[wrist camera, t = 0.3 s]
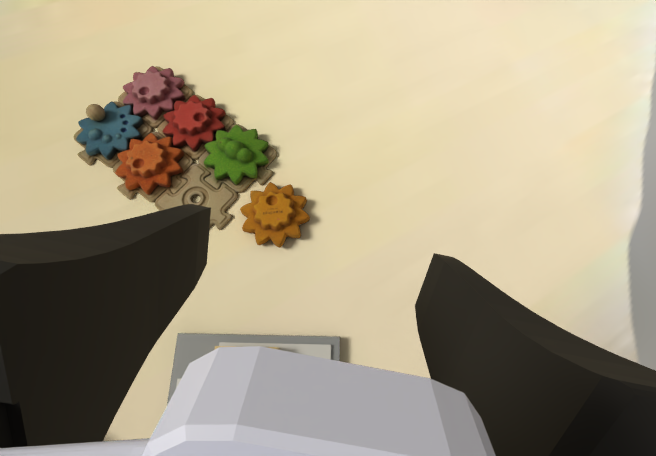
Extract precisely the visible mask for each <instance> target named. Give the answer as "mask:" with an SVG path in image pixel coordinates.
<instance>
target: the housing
mask: <svg viewBox="0 0 656 456" xmlns="http://www.w3.org/2000/svg"><path fill="white" fill-rule="evenodd" d="M215 346H242V347H247V346H262V347H279V348H280V350H283V351H288V352H293V353H299V354H304V355H309V356H314V357H320V358H325V359H330V360H336V361H340V337H326V336H280V335H234V334H188V333H178V335H177V342H176V349H175V355H174V362H173V369H172V375H171V382H170V389H169V396H168V402H167V405H168V403H169V401H170V399H171V397H172V396H173V394H174V392H175V390H176V388H177V386H178V384H179V382H180V380H181V378H182V376H183V375H184V373H185V371H186V369H187V367H188V365H189V363H191V362H193V361H195V360H197V359H198V358H200V357H202V356H204V355H206V354H208V353H210V352H211V351H213V350H215Z"/></svg>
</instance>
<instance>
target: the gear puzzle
mask: <svg viewBox="0 0 656 456" xmlns="http://www.w3.org/2000/svg"><path fill="white" fill-rule="evenodd" d="M133 80H134V81H133V82H130V83H128V84H126V85H124V86H123V89H124V90H125V92H124V93H123V94H121V95H120V96H119V98H118V101H119V102H110V103H109V104H107V105H106V106H105V108H104V109H103V108H102V107H101V106H100V105H97V104H91V105H89V106H88V107H87V109H86V114H87V116H88V117H89V118H85V119H83V120H81V121H79V122H78V123H79V125H80V127H81V129H80V130H79V131H78V132H77V133H76V134H75V135H74V140H75V141H76V142H78V143H79V144H80V145H81V146H83V147H84V148H85V150H84V151H82V152H80V153H78V156H79V157H80V158H81V159H82V160H84V161H85V162H86V163H87V164H88V165H92V164H93V163H94V162H95V160H96V159H98V160H100V161H101V162H102V163H104V164H105V165H106V166H108V167H110V168H113V172H114V173H115V174H116V175H117V176H118V177H120V178H121V179H122V180H123V181H124V182H125V183H124V184H122V185H120V186H118V187H117V189H118V190H119V191H120V192H121V193H122V194H123V195H124V196H126V197H127V198H128V199H130V200H131V199H132V198H133V197H134V195H135V194H136V193H139V194H141V195H142V196H143V197H144V198H145V199H147V200H148V201H149V202H155V206H156V207H157V208H158V209H159V210H160V211H161V210H165V209H169V208H173V207H176V206H181V205H186V204H195V205H200V206H205V207H210V208H211V215H210V227H211V226H212V225H213V224H215V225H216V226H217V228H218V229H219V230H221V229H222V228H223V227H224V226H225V225H226V224H227V223H228V222H229V221H230V220H231V218H232V215H231V214H228V213H225V212H226V210H227V209H228V208H229V207H230V206H231V205H232V204H233V203H234V201H235V200H236V199H237V196H238V195H237V193H242V192H244V191H245V190H246V189H247V188H248V187H249V186H250V184H251V183H252V182H253V181H255V180H257V181H258V182H259V184H260V185H263V184H264V183H265V182H266V181H267V180H268V179H269V178H270V177H271V176H272V174H273V172H272V171H271V170H268V169H266V168H267V166H268V165H269V164H270V163H271V162H272V161H273V160H274V159H275V158H276V156H277V153H276V151H275V150H274V149H273V148H272V147H271V146H269V145H268V142H266V141H264V140H259V139H258V133H257V130H256V129H251V130H246V129H245V128H244V127H242V126H241V125H239V124H234V121H233V120H232V119H231V118H230V117H228V116H227V115H226V113H225V111H224V110H223V109H220V108H215V101H214V99H213V98H209V99H203V98H202V97H200V96H199V95H193V92H192V90H191V89H190V88H188V87H187V86H186V85H184V81H183V79H181V78H178V77H174V73H173V71H172V69H170V68H168V69H164V70H163V69H162V68H160V67H154V66H151V67H150V68H149V69H148V70H147V72H146V73H140V72H135V73H134V75H133ZM153 128H157V130H158V132H153ZM198 159H199V164H194V161H193V160H198ZM195 196H200V197H201V200H200V201H199V202H198V203H193V202H192V199H193V197H195ZM250 196H251V201H252V203H249V204H246V205H244V206H243V207H241V209H240V210H241V212H242V214H243V215H244V216H246V217H247V218H248V219H247V220H246V221H245V223H244V225H243V227H242V229H243V231H244V232H249V233H255V239H256V242H257V244H258V245H261V244H264V243H265V242H267V241H268V240H272V242H273V243H274V244H275V245H276V246H277V247H281V246H282V245H283V244H284V242H285V239H286V237H291V238H300V236H301V234H300V229H299V225H301V224H303V223H306V222H307V221H309V220H310V217H309V215H308V214H307V213H306V212H305V211H303V210H302V209H303V207H304V206H305V204H306V202H307V200H306V197H303V196H294V191H293V187H292V185H287V186H285V187H283V188H281V189H278V188H277V186H276V185H274V184H273V183H271V182H270V183H269V184H268V185H267V186H266V188H265V191H264V192H261V191H251V194H250ZM210 227H209V228H210Z"/></svg>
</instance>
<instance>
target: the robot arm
mask: <svg viewBox="0 0 656 456" xmlns="http://www.w3.org/2000/svg"><path fill="white" fill-rule="evenodd" d="M210 215H211V208H210V207H205V206H200V205H195V204H186V205H181V206H176V207H173V208H169V209H165V210H161V211H158V212H154V213H150V214H147V215H143V216H139V217H135V218H130V219H126V220H122V221H117V222H113V223H108V224H103V225H98V226H92V227H85V228H78V229H71V230H62V231H49V232H37V233H24V234H0V456H656V371H655V370H652V369H650V368H647V367H645V366H642V365H640V364H638V363H635V362H633V361H630V360H628V359H625V358H623V357H620V356H618V355H616V354H614V353H611V352H609V351H607V350H604V349H602V348H600V347H598V346H596V345H594V344H592V343H590V342H588V341H586V340H583V339H581V338H579V337H577V336H575V335H573V334H571V333H569V332H568V331H566V330H564V329H562V328H560V327H558V326H556V325H555V324H553V323H551V322H549V321H548V320H546V319H544V318H542V317H541V316H539V315H537V314H536V313H534V312H532V311H531V310H529V309H528V308H526V307H525V306H523V305H522V304H520V303H519V302H517V301H516V300H514V299H513V298H511V297H510V296H508V295H507V294H505V293H504V292H502V291H501V290H500V289H498V288H497V287H496V286H494V285H493V284H491V283H490V282H489V281H487V280H486V279H485V278H483V277H482V276H481V275H479V274H478V273H476V272H475V271H474V270H472V269H471V268H470V267H468V266H467V265H465V264H464V263H462V262H461V261H459V260H457V259H455V258H453V257H449V256H444V255H440V254H435V253H434V255H433V258H432V260H431V263H430V266H429V269H428V271H427V274H426V277H425V280H424V282H423V285H422V288H421V291H420V293H419V296H418V299H417V302H416V304H415V310H416V320H417V327H418V333H419V337H420V341H421V344H422V348H423V352H424V355H425V359H426V362H427V366H428V369H429V373H430V377H431V379H430V378H425V377H420V376H415V375H409V374H404V373H399V372H394V371H388V370H383V369H378V368H372V367H367V366H362V365H357V364H351V363H346V362H341V361H336V360H330V359H325V358H320V357H314V356H309V355H304V354H299V353H293V352H288V351H283V350H277V349H272V348H267V347H262V346H247V347H219V348H217V349H215V350H213V351H211V352H210V353H208V354H206V355H204V356H202V357H200V358H198V359H197V360H195V361H193V362H191V363H189V365H188V367H187V369H186V371H185V373H184V375H183V376H182V378H181V380H180V382H179V384H178V386H177V388H176V390H175V392H174V394H173V396H172V397H171V399H170V401H169V403H168V405H167V407H166V409H165V411H164V413H163V415H162V417H161V418H160V420H159V422H158V424H157V426H156V428H155V430H154V432H153V434H152V436H151V438H147V439H132V440H117V441H103V439H104V437H105V435H106V433H107V431H108V429H109V427H110V425H111V423H112V421H113V419H114V417H115V415H116V413H117V411H118V409H119V407H120V406H121V404H122V402H123V400H124V398H125V396H126V394H127V392H128V390H129V388H130V387H131V385H132V383H133V381H134V379H135V377H136V376H137V374H138V372H139V370H140V368H141V367H142V365H143V363H144V361H145V359H146V358H147V356H148V354H149V352H150V351H151V349H152V348H153V346H154V345H155V343H156V342H157V340H158V339H159V337H160V336H161V335H162V333H163V332H164V330H165V329H166V328H167V326H168V325H169V323H170V322H171V321H172V319H173V318H174V316H175V315H176V314H177V312H178V311H179V309H180V308H181V307H182V305H183V304H184V302H185V301H186V300H187V298H188V297H189V295H190V294H191V292H192V291H193V290H194V288H195V286H196V284H197V282H198V280H199V279H200V277H201V275H202V272H203V270H204V268H205V266H206V264H207V252H208V240H209V227H210Z"/></svg>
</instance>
